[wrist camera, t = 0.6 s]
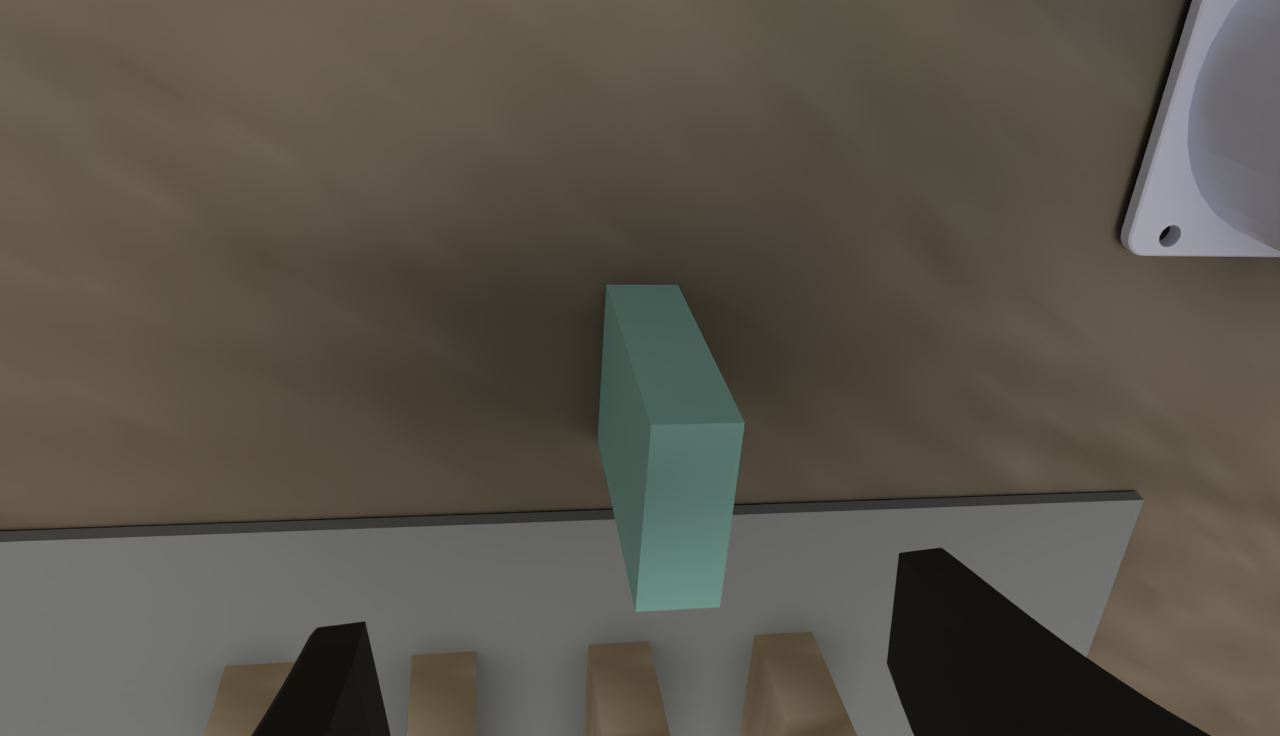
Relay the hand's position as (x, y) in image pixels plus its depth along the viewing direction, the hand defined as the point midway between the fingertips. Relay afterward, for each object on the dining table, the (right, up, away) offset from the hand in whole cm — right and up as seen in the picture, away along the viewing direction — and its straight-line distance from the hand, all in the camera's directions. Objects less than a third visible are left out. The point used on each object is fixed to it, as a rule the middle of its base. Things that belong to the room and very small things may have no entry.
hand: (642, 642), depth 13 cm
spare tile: (0, +4, +9) cm, 10 cm away
